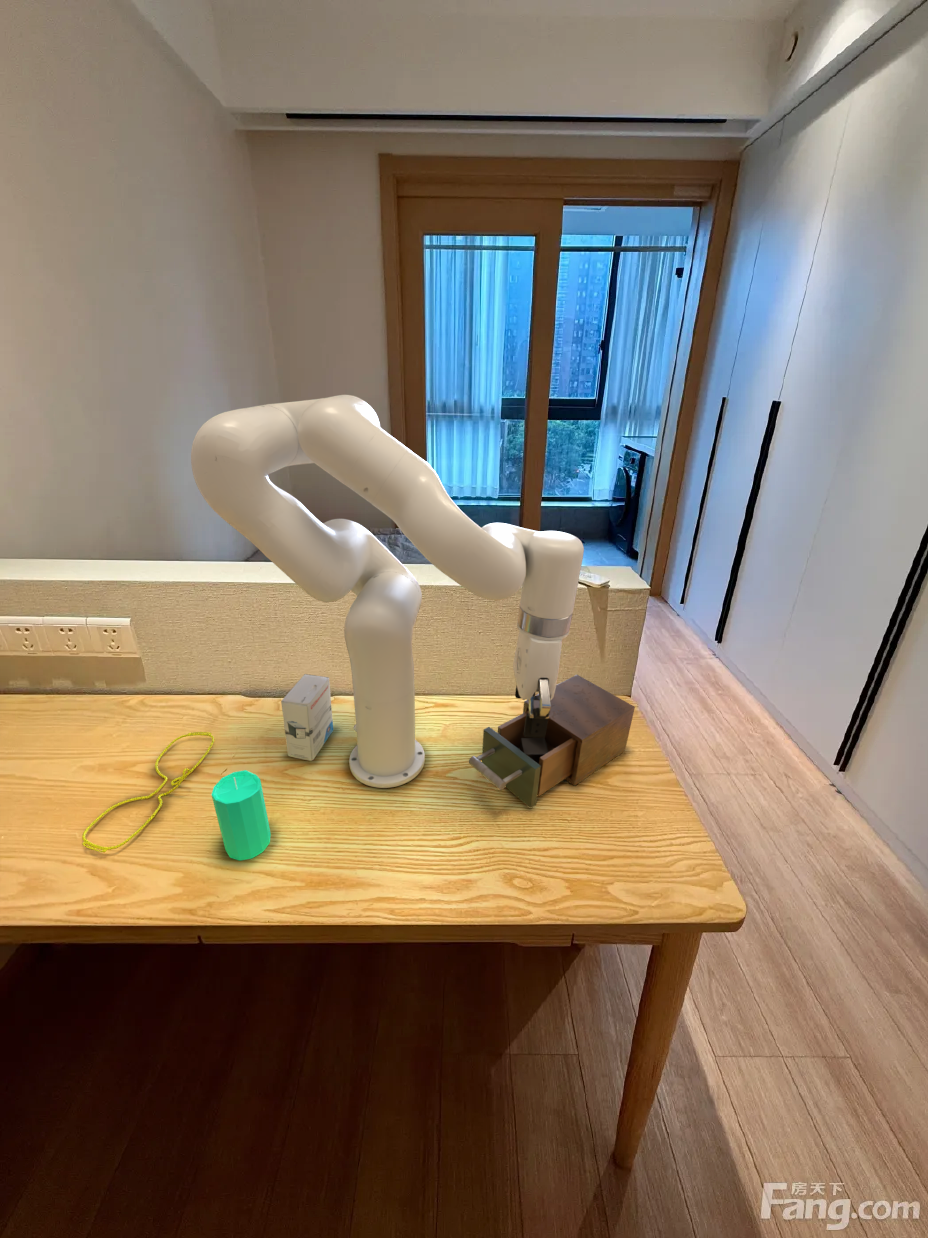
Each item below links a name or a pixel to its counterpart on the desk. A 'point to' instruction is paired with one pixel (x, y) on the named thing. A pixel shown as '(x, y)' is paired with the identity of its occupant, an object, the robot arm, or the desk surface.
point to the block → (534, 747)
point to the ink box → (307, 716)
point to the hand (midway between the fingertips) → (529, 715)
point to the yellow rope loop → (148, 796)
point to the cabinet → (589, 723)
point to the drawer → (524, 760)
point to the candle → (242, 815)
